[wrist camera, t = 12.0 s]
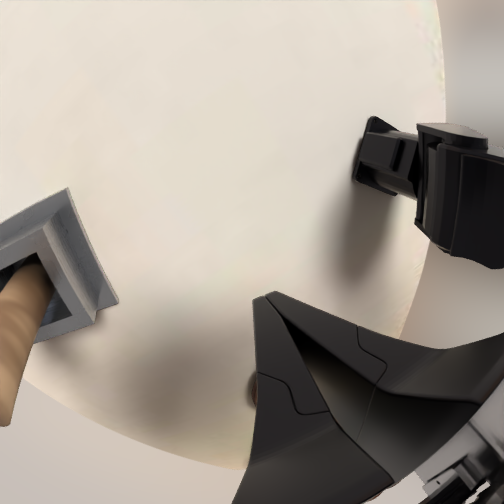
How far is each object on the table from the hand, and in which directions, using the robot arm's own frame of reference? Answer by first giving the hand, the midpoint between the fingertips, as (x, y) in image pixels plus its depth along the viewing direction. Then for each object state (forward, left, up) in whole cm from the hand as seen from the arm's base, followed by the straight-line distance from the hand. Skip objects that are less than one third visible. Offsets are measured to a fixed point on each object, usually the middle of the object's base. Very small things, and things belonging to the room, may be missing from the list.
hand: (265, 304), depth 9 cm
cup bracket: (+12, +7, -13) cm, 19 cm away
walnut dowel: (+12, +7, -12) cm, 19 cm away
